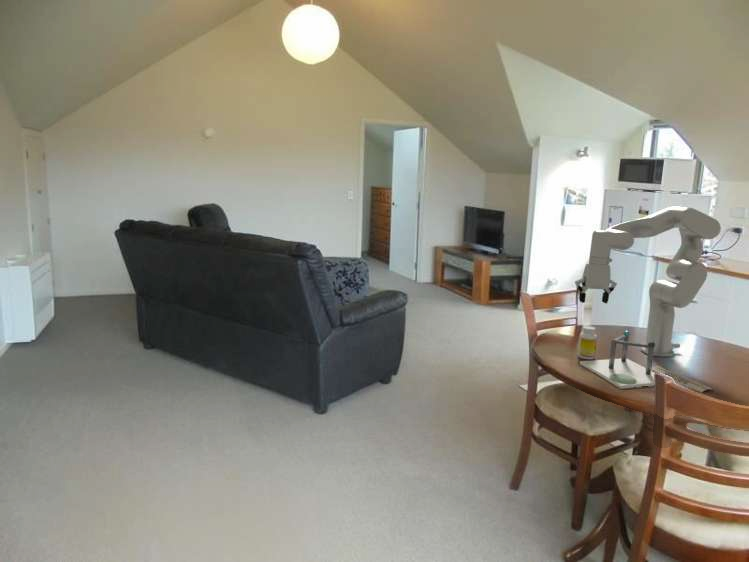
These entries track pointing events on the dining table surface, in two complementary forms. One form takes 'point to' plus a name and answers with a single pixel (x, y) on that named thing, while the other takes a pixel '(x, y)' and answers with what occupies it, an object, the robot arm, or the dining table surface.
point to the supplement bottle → (587, 343)
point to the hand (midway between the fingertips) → (593, 302)
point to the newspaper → (681, 379)
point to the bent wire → (625, 347)
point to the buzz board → (621, 373)
